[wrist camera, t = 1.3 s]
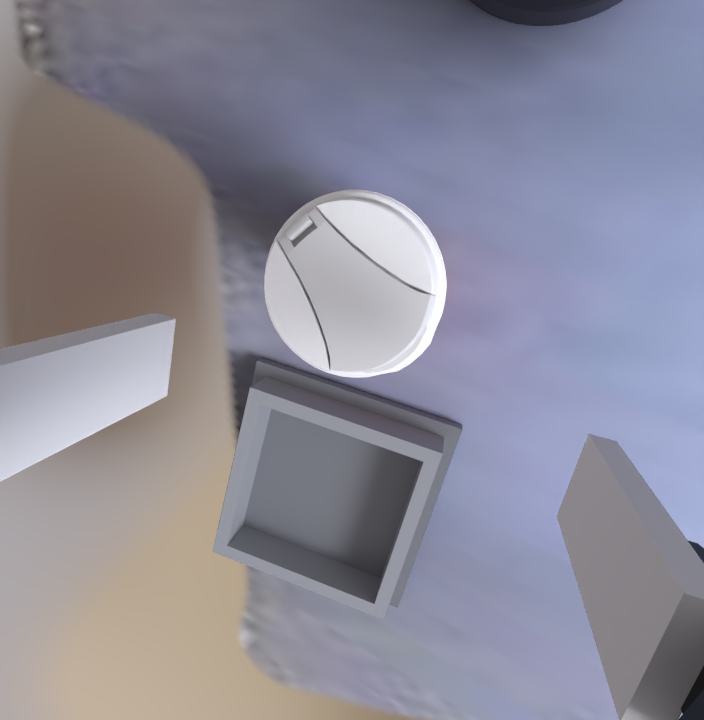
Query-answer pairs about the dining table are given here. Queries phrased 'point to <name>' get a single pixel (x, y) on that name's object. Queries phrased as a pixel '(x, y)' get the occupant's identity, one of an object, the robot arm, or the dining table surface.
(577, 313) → the dining table surface
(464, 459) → the dining table surface
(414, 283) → the coffee cup
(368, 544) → the tray
